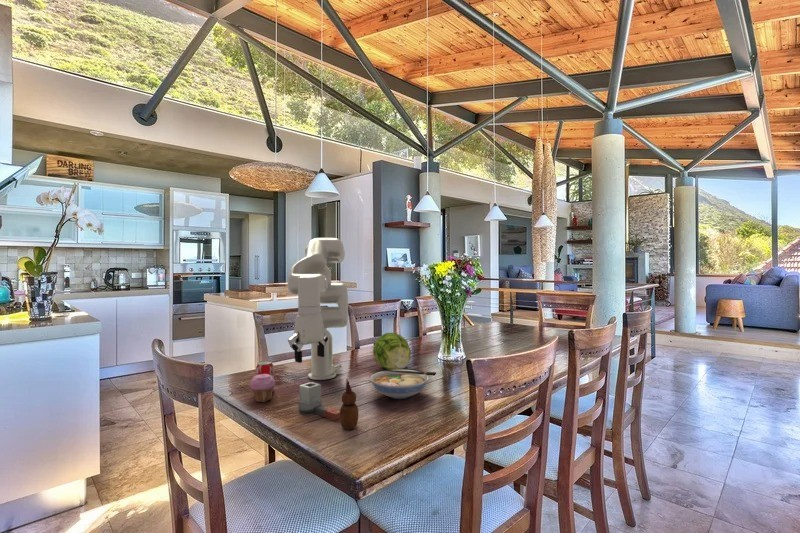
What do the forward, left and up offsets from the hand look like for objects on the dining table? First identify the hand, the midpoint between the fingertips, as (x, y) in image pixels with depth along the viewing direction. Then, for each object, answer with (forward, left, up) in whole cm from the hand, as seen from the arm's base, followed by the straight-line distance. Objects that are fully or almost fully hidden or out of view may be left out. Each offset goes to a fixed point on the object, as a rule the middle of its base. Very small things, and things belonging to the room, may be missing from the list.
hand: (310, 359), depth 145 cm
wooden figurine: (+2, +22, -18) cm, 29 cm away
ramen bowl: (-31, +15, -18) cm, 39 cm away
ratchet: (0, +6, -18) cm, 19 cm away
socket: (0, 0, -15) cm, 15 cm away
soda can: (-1, -30, -18) cm, 35 cm away
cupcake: (+5, -22, -18) cm, 29 cm away
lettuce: (-59, -12, -18) cm, 62 cm away
